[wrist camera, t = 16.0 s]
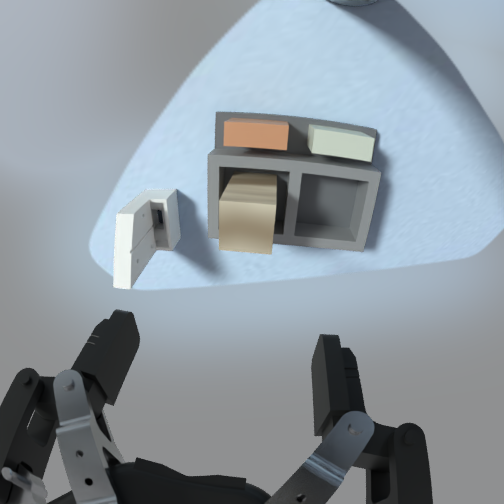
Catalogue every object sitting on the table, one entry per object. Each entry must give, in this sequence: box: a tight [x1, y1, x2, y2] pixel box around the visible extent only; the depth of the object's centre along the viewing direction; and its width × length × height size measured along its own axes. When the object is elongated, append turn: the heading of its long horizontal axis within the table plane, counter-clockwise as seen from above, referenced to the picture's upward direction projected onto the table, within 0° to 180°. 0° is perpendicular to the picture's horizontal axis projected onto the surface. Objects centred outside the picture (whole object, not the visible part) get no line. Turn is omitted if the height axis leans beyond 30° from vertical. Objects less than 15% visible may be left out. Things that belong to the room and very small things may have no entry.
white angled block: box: [113, 189, 181, 289], centre depth 28 cm, size 4×10×9 cm, turn 179°
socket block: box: [208, 112, 381, 252], centre depth 26 cm, size 12×15×5 cm
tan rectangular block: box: [219, 171, 277, 254], centre depth 25 cm, size 4×4×8 cm
